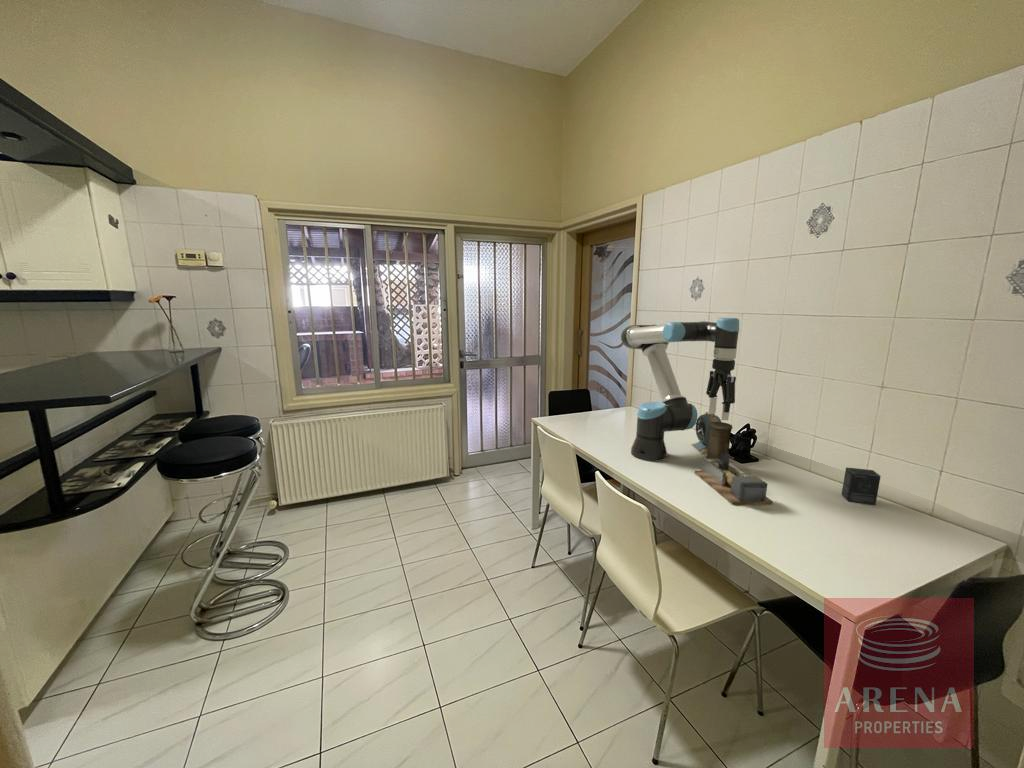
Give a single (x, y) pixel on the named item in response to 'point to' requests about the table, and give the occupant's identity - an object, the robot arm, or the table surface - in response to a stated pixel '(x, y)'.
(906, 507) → the table surface
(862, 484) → the box
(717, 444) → the container
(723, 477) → the grey tilted block
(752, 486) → the socket
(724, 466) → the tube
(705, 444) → the alarm clock
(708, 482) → the board
